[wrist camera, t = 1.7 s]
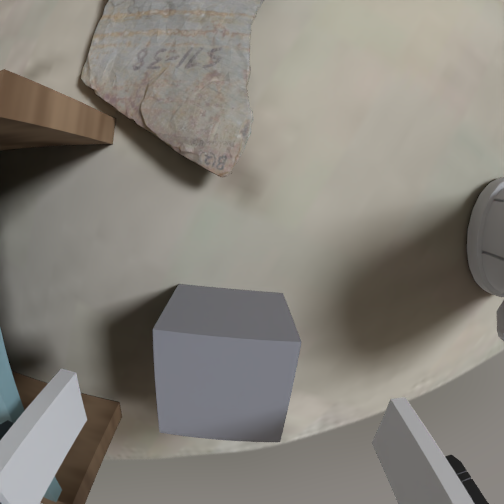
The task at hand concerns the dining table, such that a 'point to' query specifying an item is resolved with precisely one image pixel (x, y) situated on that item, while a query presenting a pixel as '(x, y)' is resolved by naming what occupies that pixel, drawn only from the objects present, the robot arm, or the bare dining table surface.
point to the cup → (488, 244)
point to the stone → (179, 73)
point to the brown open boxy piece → (57, 134)
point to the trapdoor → (16, 408)
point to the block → (224, 363)
